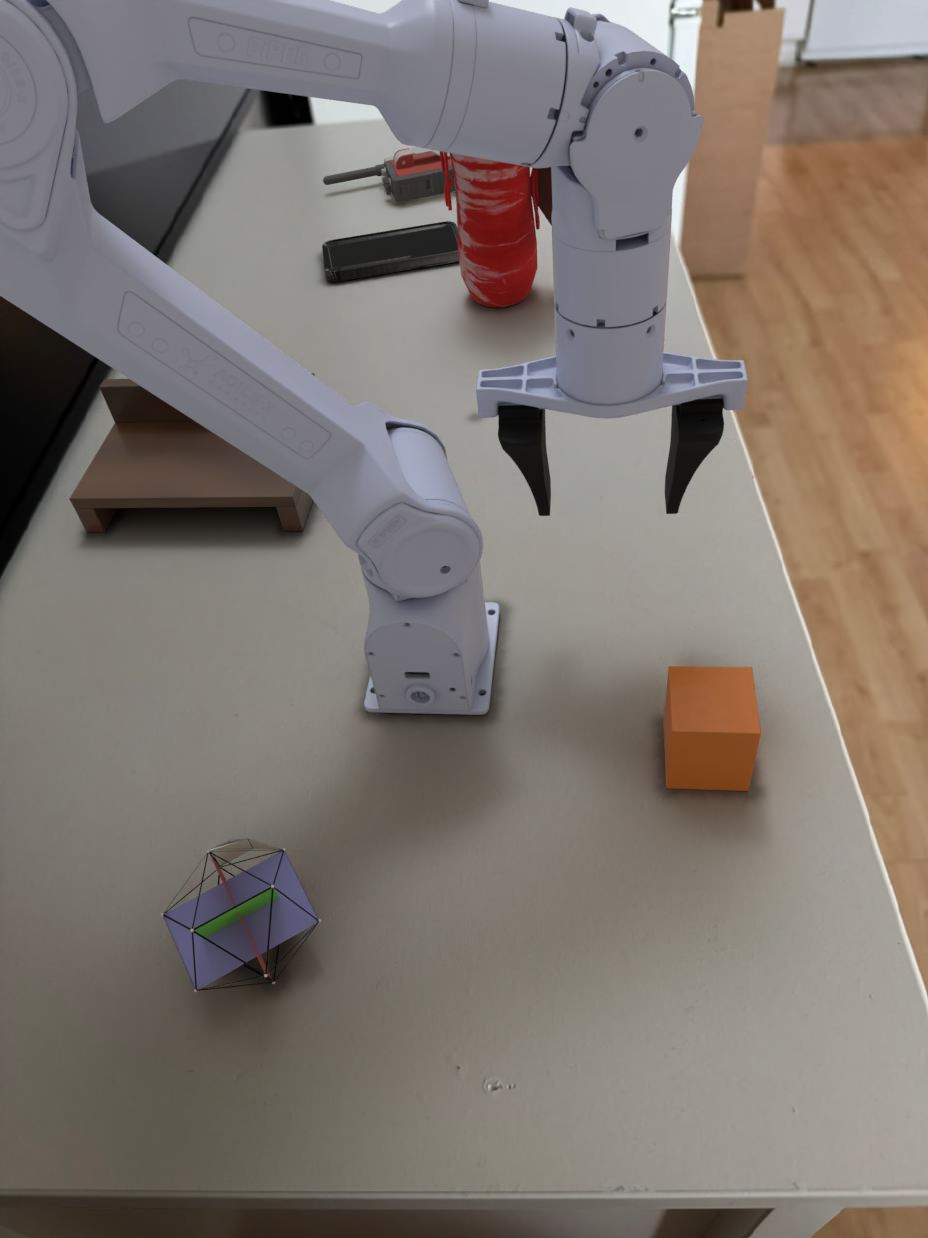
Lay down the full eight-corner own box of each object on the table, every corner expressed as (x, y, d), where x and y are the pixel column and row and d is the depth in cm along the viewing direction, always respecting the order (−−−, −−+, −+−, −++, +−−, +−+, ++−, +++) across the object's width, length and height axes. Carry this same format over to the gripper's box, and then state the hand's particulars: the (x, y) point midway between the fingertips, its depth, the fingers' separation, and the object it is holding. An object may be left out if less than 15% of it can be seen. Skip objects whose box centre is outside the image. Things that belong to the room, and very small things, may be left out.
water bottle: (571, 267, 98) (566, -14, 80) (579, 306, 93) (575, 13, 75) (455, 279, 99) (424, 2, 81) (456, 318, 93) (423, 30, 75)
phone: (321, 241, 106) (454, 219, 106) (323, 251, 106) (455, 229, 107) (324, 273, 100) (464, 250, 101) (327, 283, 101) (465, 260, 101)
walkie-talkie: (479, 158, 120) (324, 188, 118) (476, 120, 117) (316, 151, 115) (497, 184, 114) (333, 217, 112) (494, 146, 111) (326, 179, 109)
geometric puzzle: (349, 977, 47) (282, 837, 45) (219, 1054, 45) (143, 910, 43) (320, 924, 53) (261, 800, 52) (206, 989, 51) (140, 862, 50)
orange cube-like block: (748, 791, 54) (761, 733, 50) (666, 788, 55) (671, 731, 51) (741, 726, 57) (752, 666, 53) (663, 724, 58) (668, 665, 54)
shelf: (303, 531, 74) (281, 458, 68) (86, 532, 76) (50, 462, 71) (331, 444, 81) (314, 372, 76) (133, 447, 84) (104, 378, 79)
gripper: (747, 255, 50) (722, 461, 60) (475, 269, 52) (494, 466, 62) (763, 324, 46) (733, 535, 55) (464, 337, 48) (486, 539, 57)
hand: (607, 504), depth 58 cm, fingers open, 7 cm apart
